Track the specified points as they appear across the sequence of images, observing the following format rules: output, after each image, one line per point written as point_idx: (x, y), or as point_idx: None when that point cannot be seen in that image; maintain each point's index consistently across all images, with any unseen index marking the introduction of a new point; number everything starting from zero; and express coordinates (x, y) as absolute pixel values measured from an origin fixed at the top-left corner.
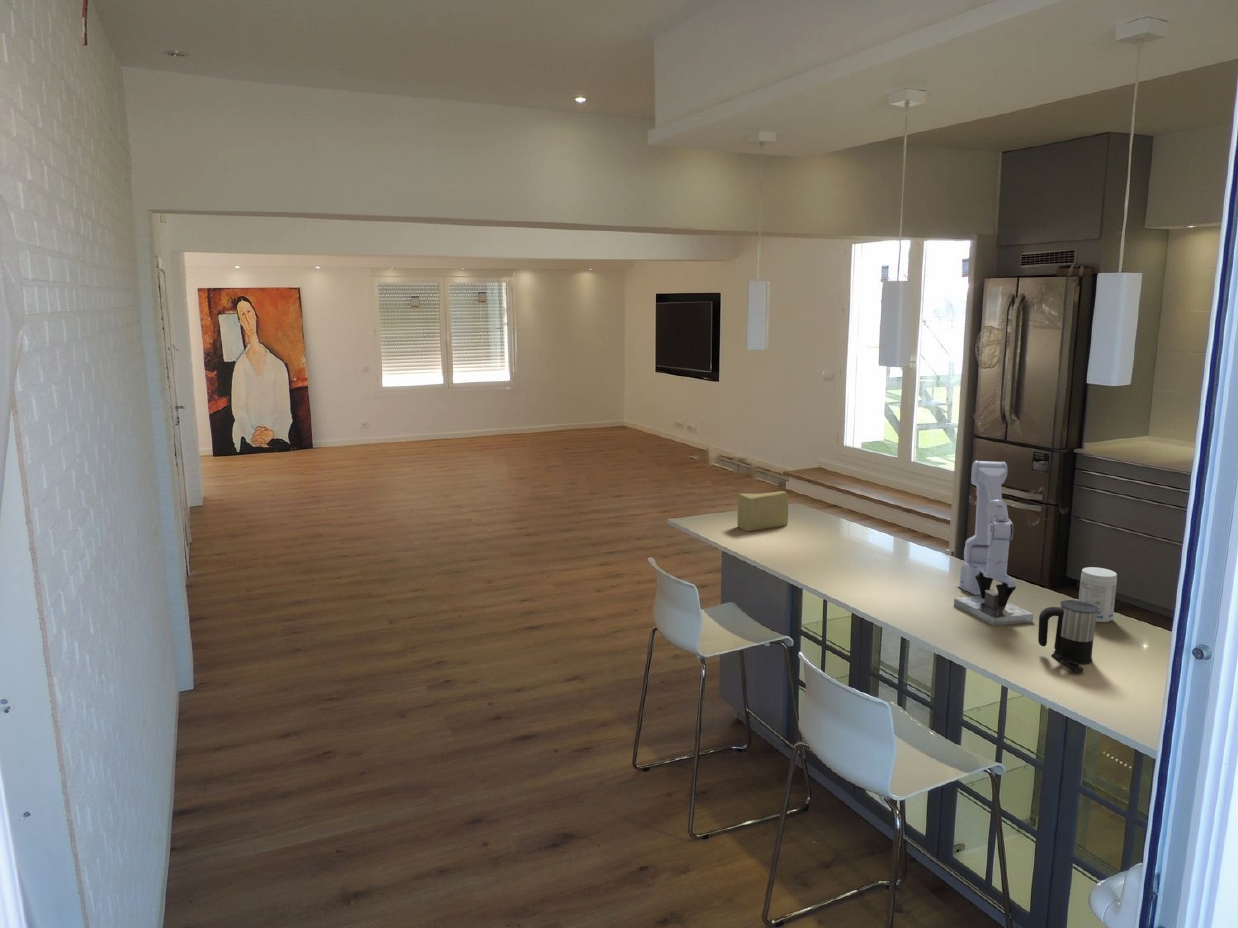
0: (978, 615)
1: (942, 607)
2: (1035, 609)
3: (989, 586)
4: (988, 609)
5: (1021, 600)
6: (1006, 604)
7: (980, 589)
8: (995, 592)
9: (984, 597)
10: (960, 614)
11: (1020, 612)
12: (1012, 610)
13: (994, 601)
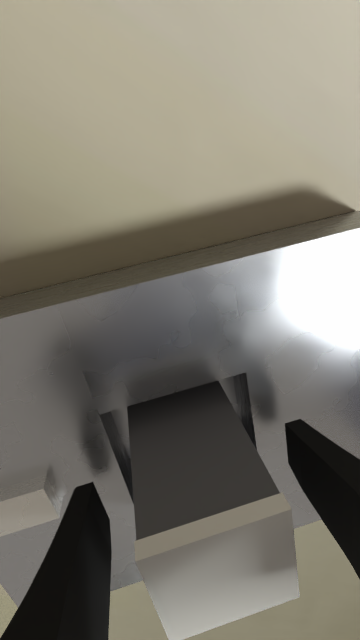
0: (76, 286)
1: (347, 79)
2: None
3: (358, 566)
4: (103, 392)
5: (329, 573)
6: None
7: (353, 467)
8: (199, 576)
9: (290, 442)
10: (170, 165)
11: None
12: None
13: (133, 487)
